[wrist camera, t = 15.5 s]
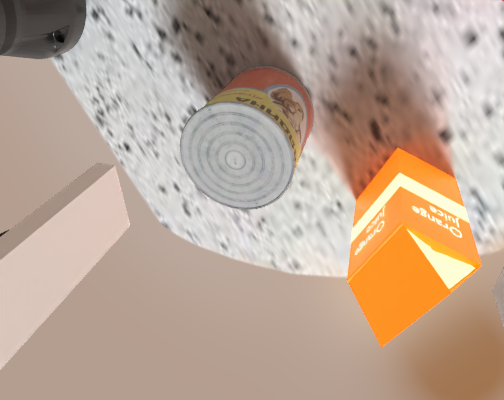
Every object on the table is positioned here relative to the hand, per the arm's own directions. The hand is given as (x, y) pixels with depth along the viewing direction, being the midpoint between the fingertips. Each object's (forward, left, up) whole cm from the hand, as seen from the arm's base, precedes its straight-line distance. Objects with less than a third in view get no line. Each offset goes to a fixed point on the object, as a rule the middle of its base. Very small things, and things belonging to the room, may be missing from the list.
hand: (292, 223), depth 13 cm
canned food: (-9, -9, -32) cm, 34 cm away
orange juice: (+8, -17, -32) cm, 37 cm away
